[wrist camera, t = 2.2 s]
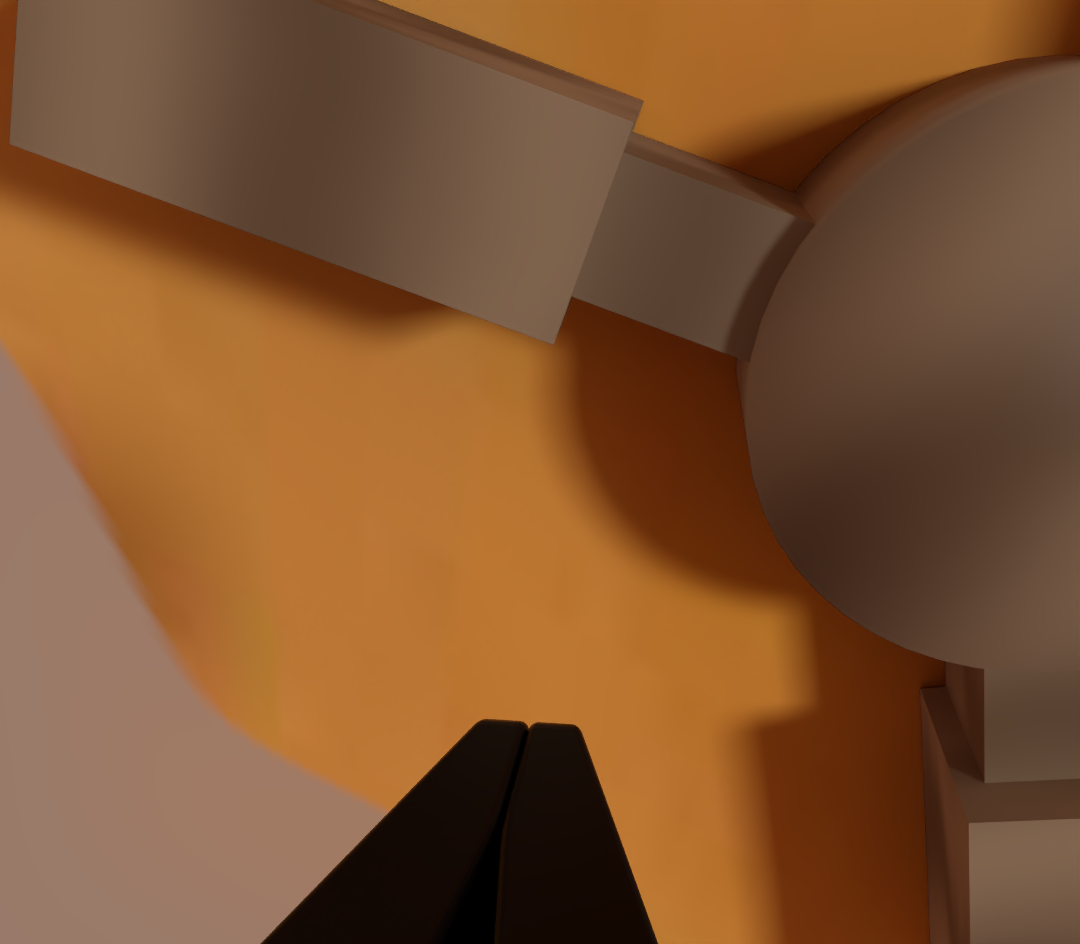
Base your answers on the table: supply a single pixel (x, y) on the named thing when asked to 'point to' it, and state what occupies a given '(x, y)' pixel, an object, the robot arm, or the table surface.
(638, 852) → the table surface
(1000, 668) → the wooden three-arm spinner
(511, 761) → the robot arm
